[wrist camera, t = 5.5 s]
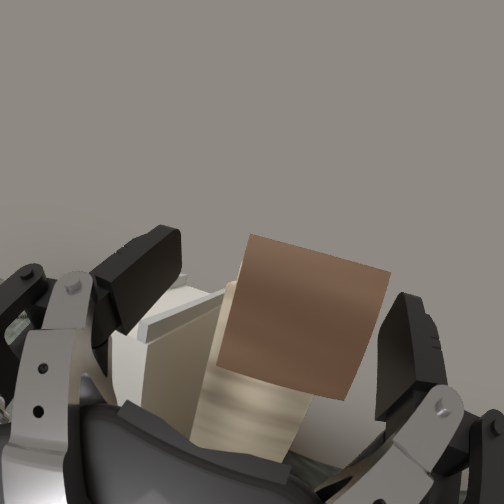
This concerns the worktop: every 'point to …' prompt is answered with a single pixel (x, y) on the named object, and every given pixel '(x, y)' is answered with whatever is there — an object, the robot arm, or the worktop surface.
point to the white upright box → (168, 355)
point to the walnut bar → (301, 318)
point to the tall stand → (245, 406)
